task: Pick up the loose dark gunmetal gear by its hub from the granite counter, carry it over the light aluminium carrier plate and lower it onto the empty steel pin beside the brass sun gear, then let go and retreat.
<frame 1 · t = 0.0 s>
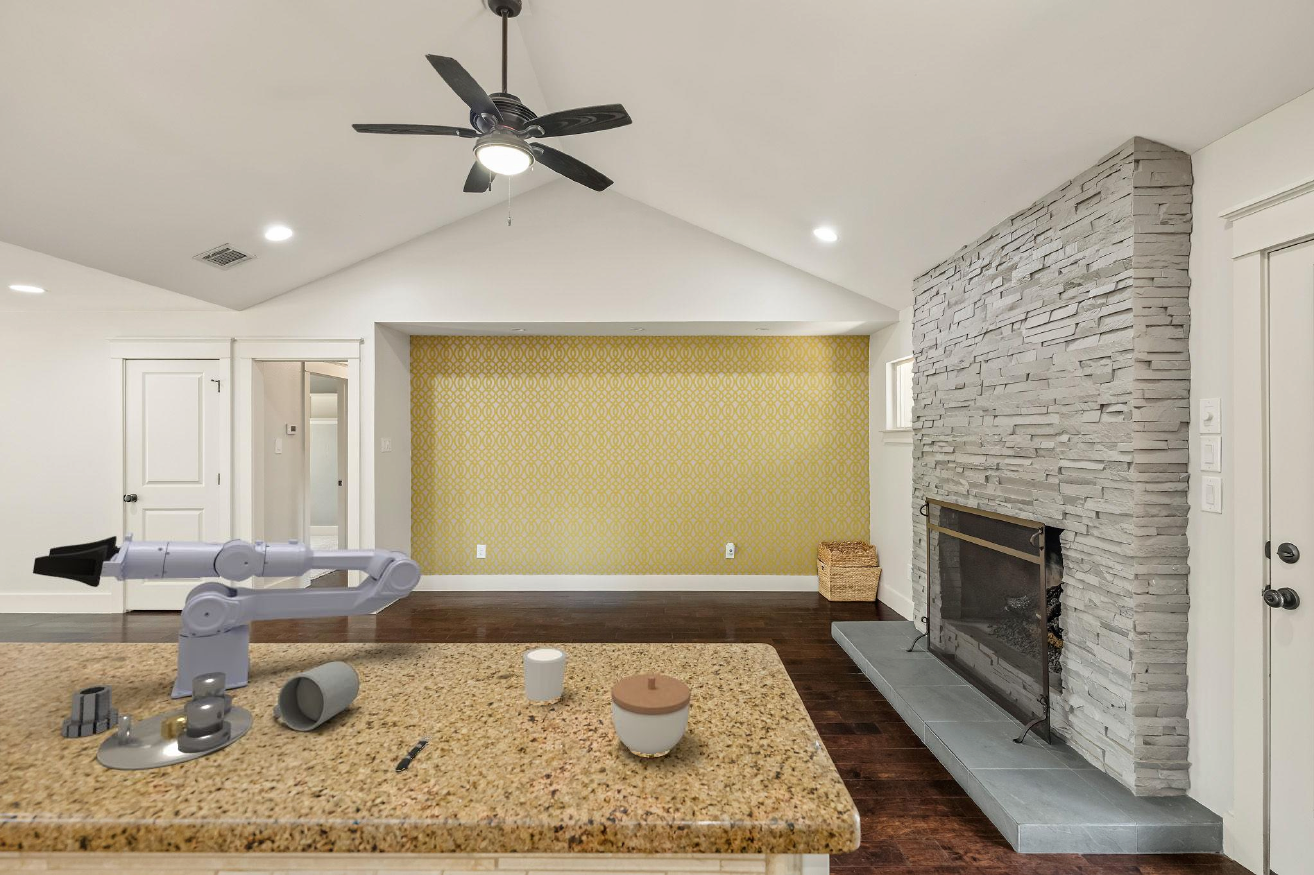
hand: (42, 560, 84), 22 cm above the countertop, tool horizontal, fingers open, 7 cm apart
carrier: (179, 736, 79), on the countertop
planet gear: (91, 727, 80), on the countertop
ceramic mug: (311, 720, 85), on the countertop
white short cylinder: (543, 699, 94), on the countertop
lidded jar: (649, 748, 80), on the countertop
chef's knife: (438, 738, 81), on the countertop
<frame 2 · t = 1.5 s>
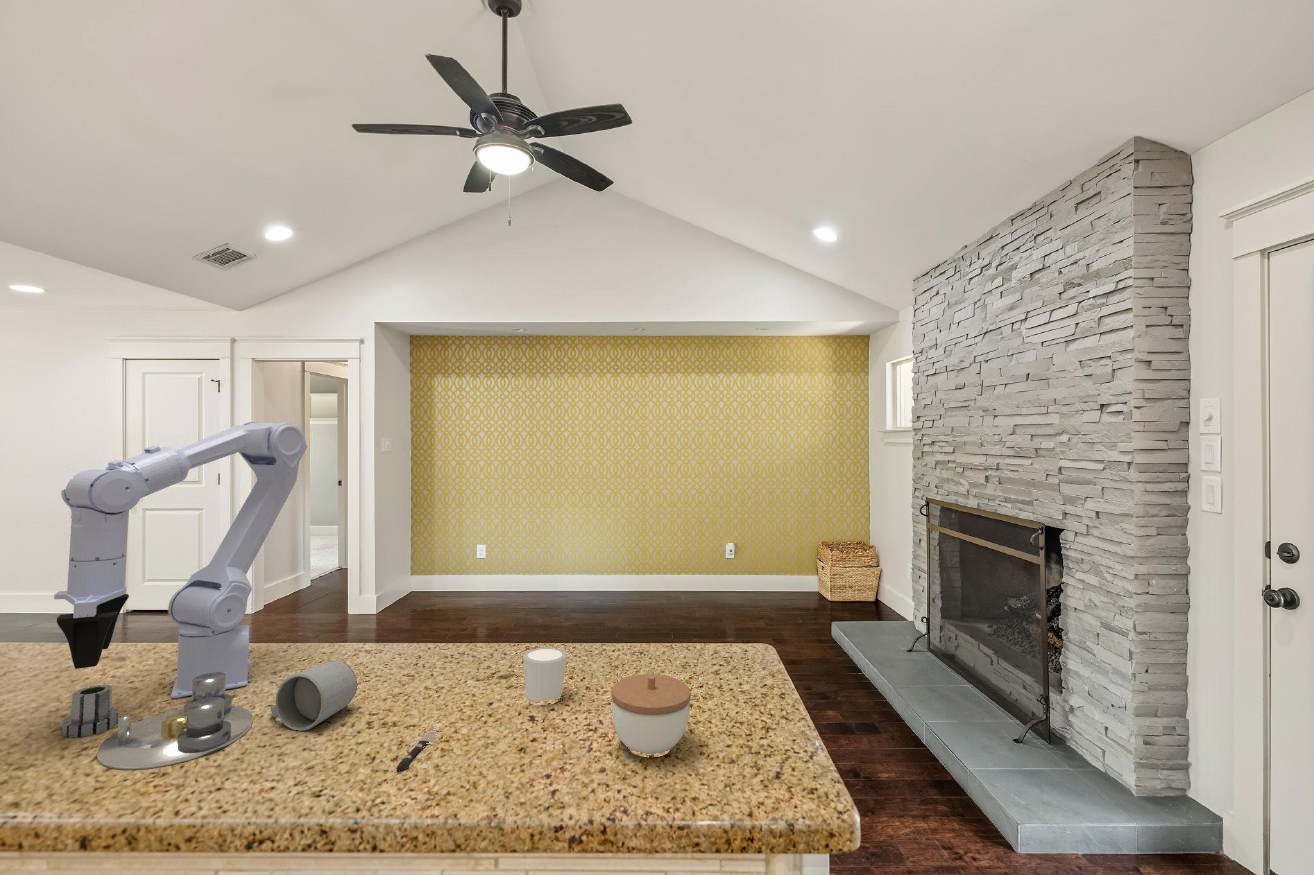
hand: (92, 657, 80), 9 cm above the countertop, tool pointing down, fingers open, 7 cm apart
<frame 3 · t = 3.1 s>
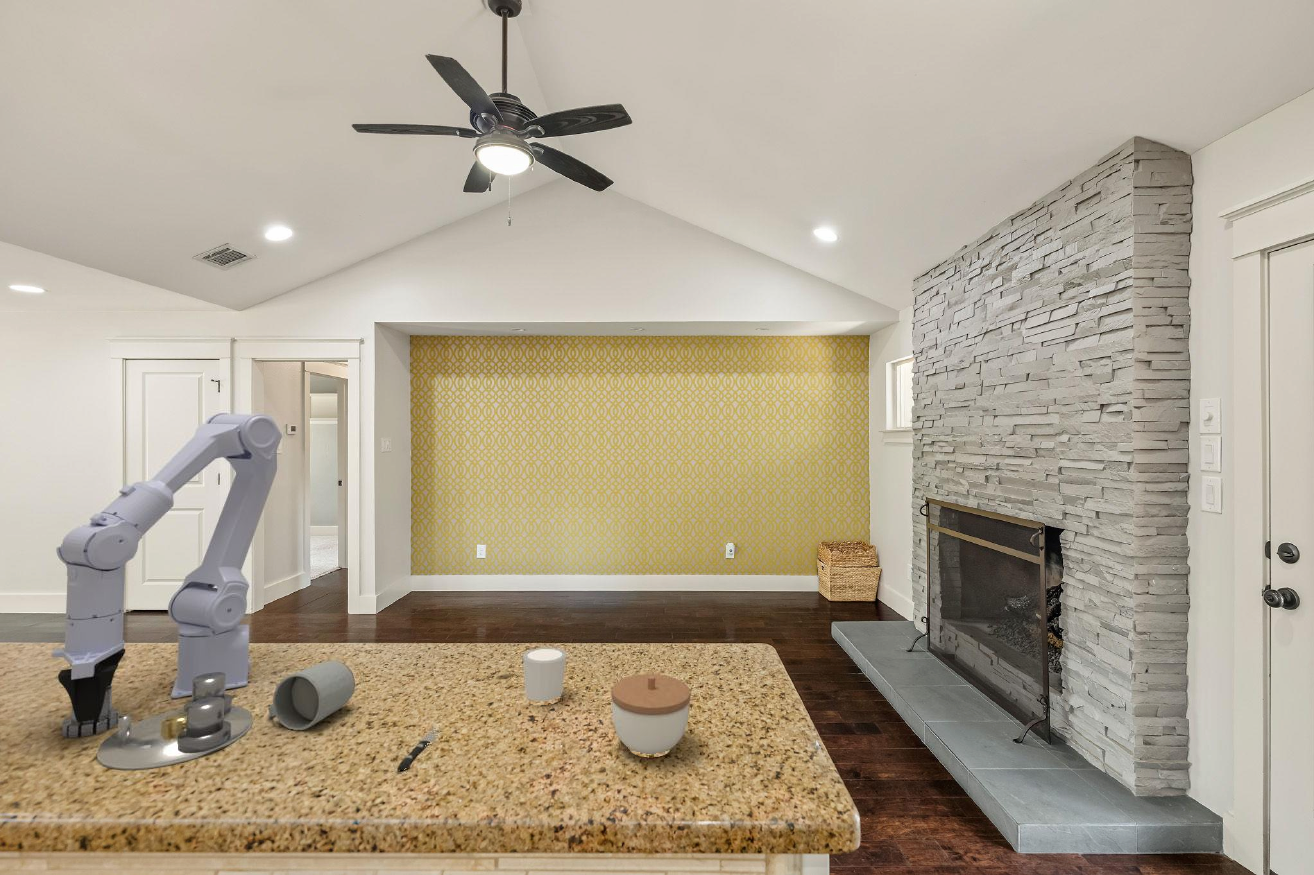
hand: (91, 713, 80), 2 cm above the countertop, tool pointing down, fingers closed on planet gear, 4 cm apart
planet gear: (91, 727, 80), on the countertop, touching gripper
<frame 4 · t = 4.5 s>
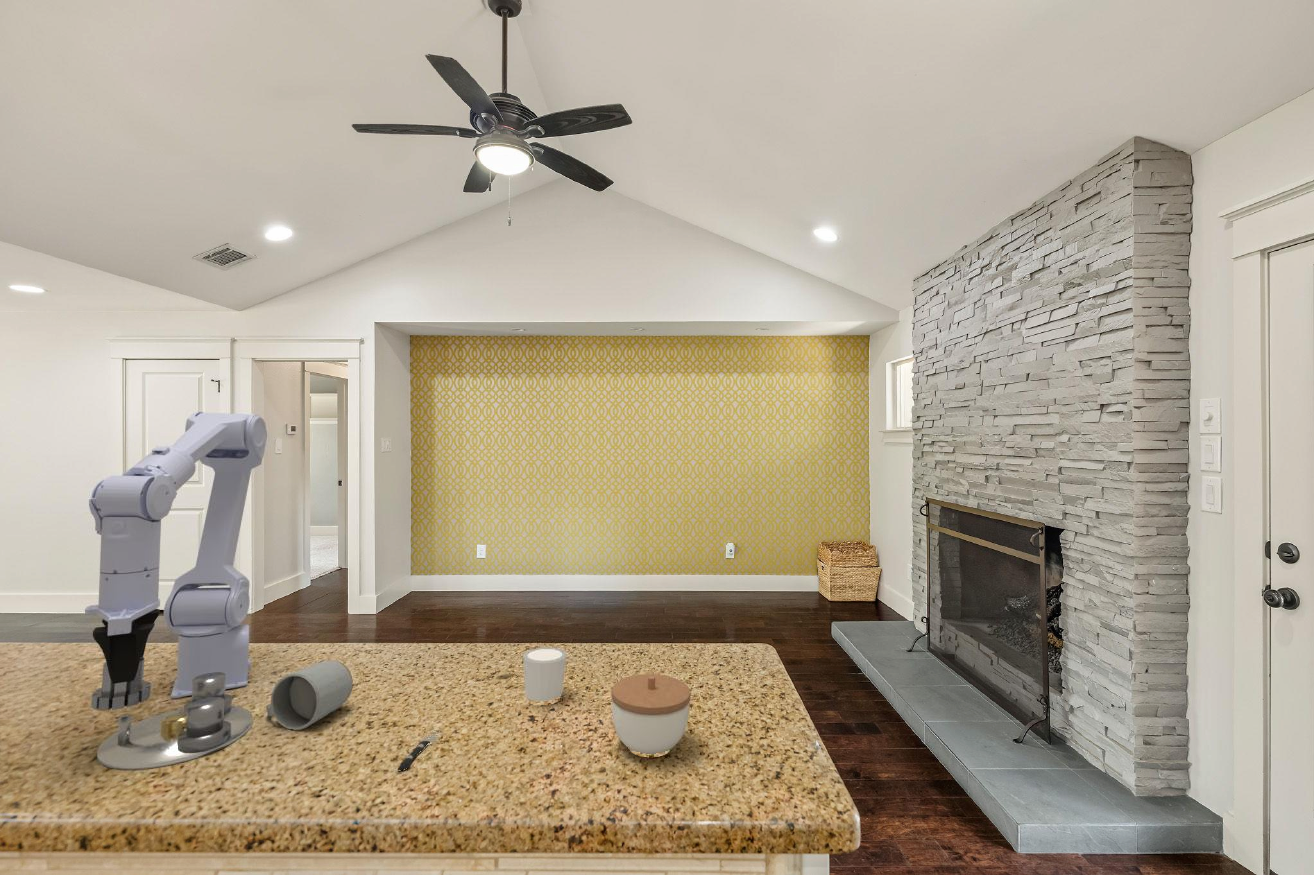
hand: (126, 675, 75), 9 cm above the countertop, tool pointing down, fingers closed on planet gear, 4 cm apart
planet gear: (121, 700, 75), point 6 cm above the countertop, touching gripper
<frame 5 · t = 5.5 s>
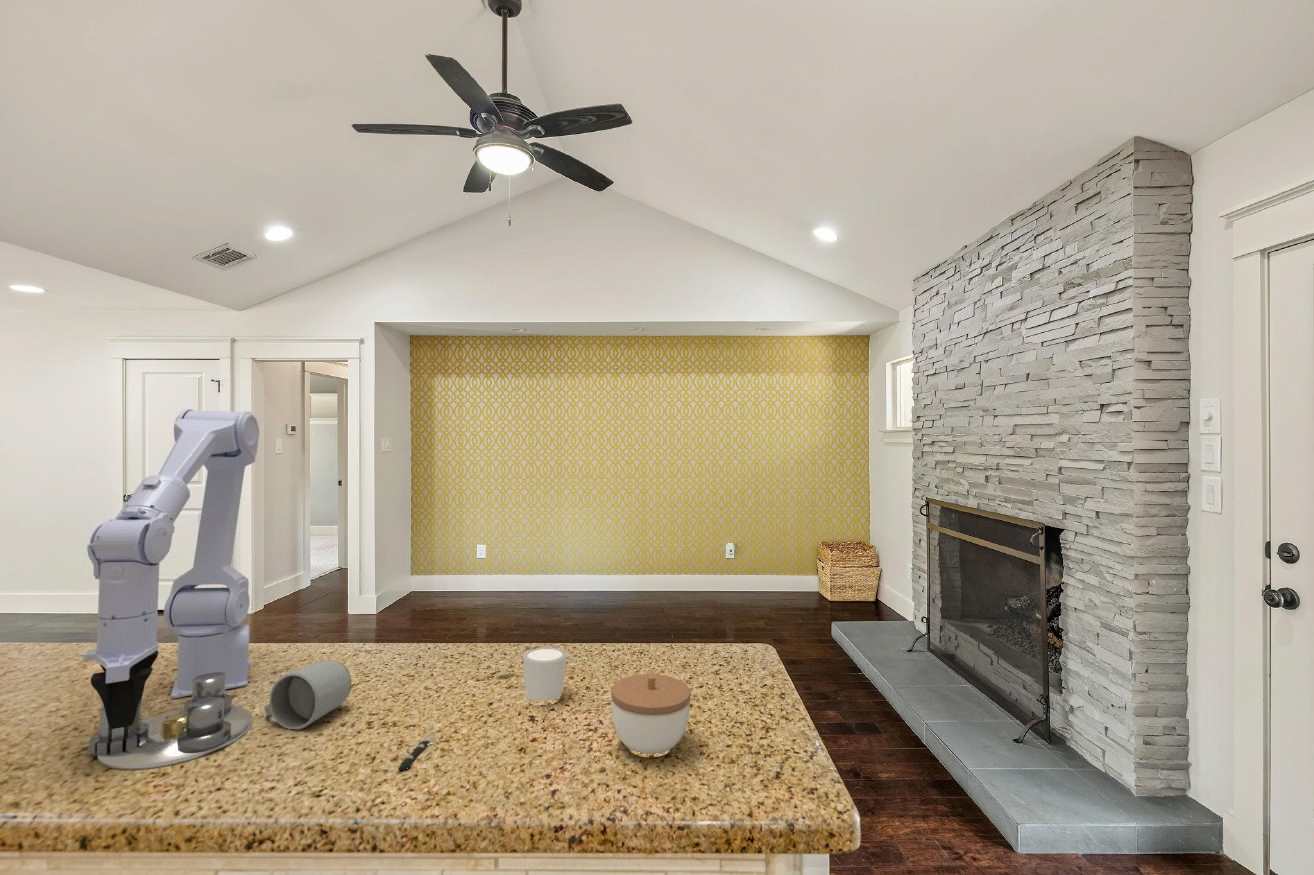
hand: (124, 719, 75), 4 cm above the countertop, tool pointing down, fingers closed on planet gear, 4 cm apart
planet gear: (119, 744, 75), point 1 cm above the countertop, touching carrier, gripper
when the fingers open (4 cm above the countertop, at t = 5.9 s): planet gear stays where it is, resting on carrier.
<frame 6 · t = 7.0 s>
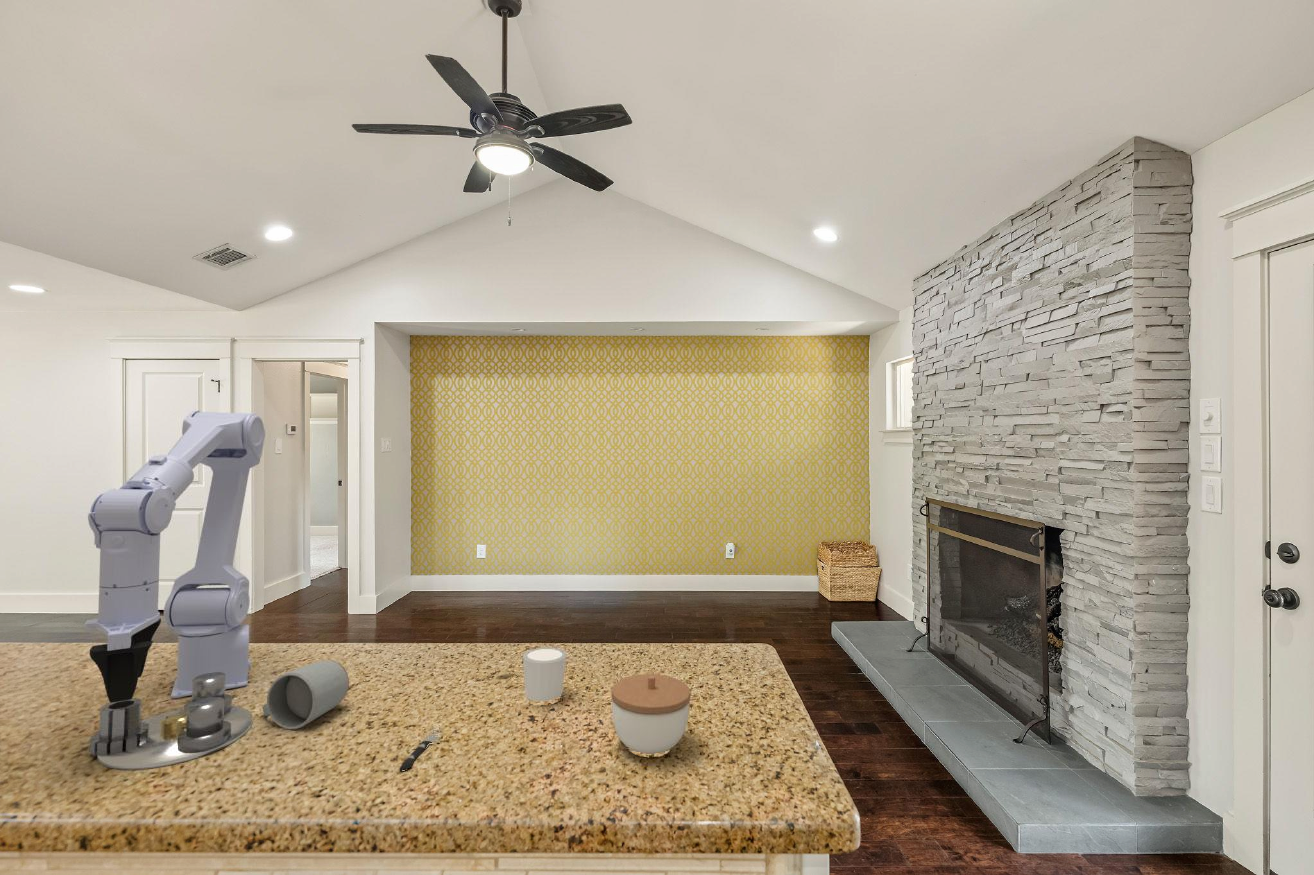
hand: (126, 688, 76), 8 cm above the countertop, tool pointing down, fingers open, 7 cm apart
planet gear: (119, 744, 75), point 1 cm above the countertop, touching carrier
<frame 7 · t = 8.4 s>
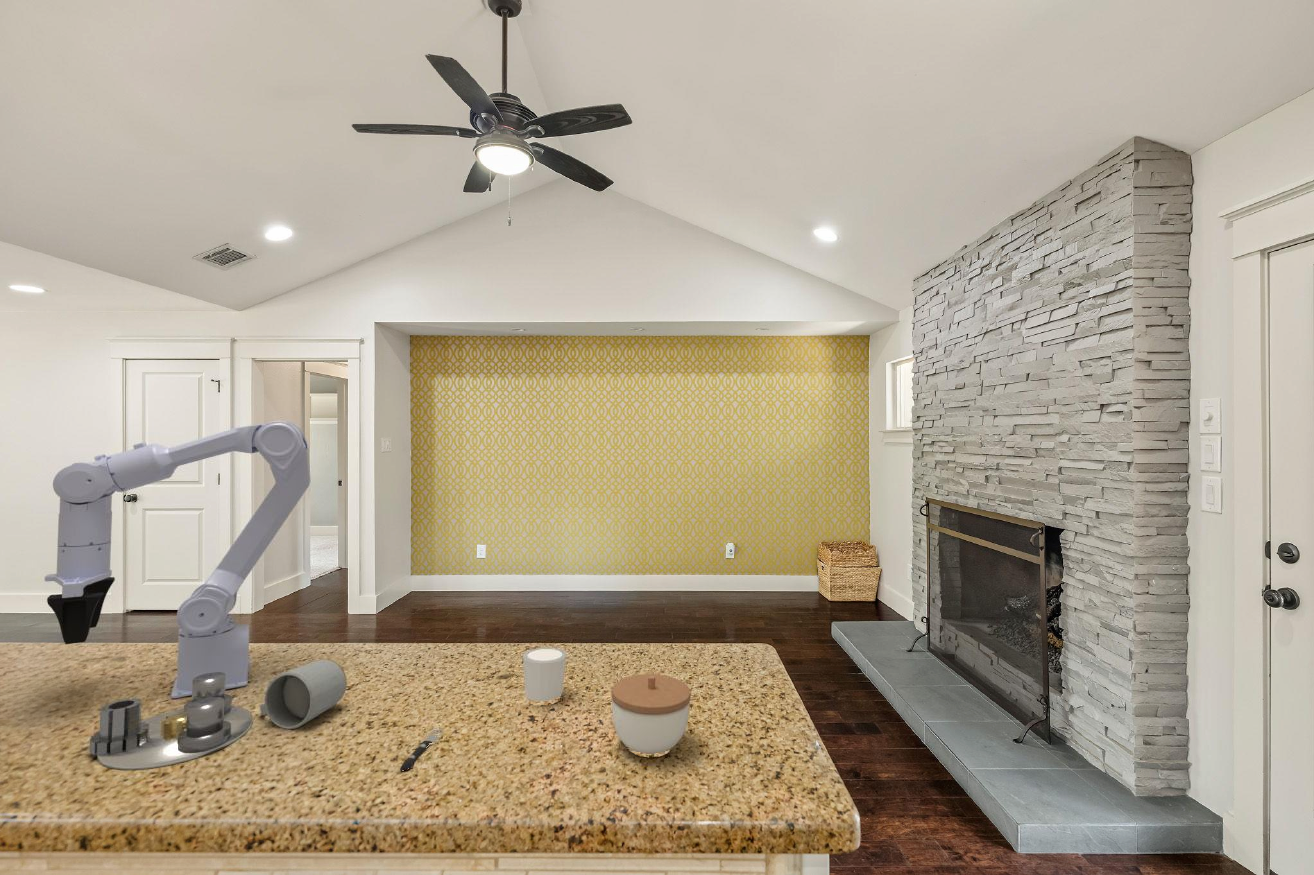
hand: (81, 635, 88), 10 cm above the countertop, tool pointing down, fingers open, 7 cm apart
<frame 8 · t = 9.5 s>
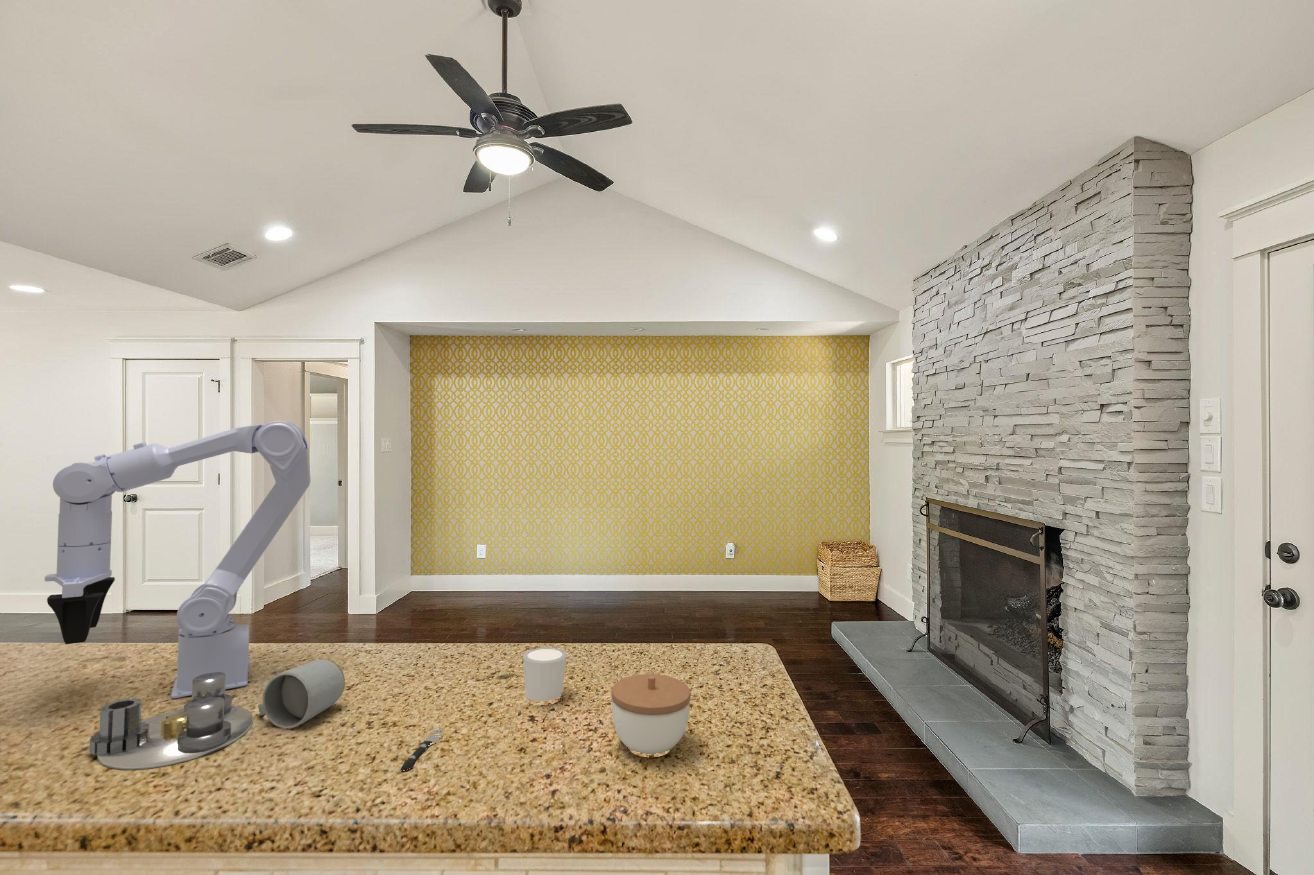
hand: (81, 635, 88), 10 cm above the countertop, tool pointing down, fingers open, 7 cm apart
at the end: planet gear 0.4 cm from the target spot on the carrier, point 0.6 cm above the carrier's base; planet gear tilted 0°; the gripper is holding nothing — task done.
